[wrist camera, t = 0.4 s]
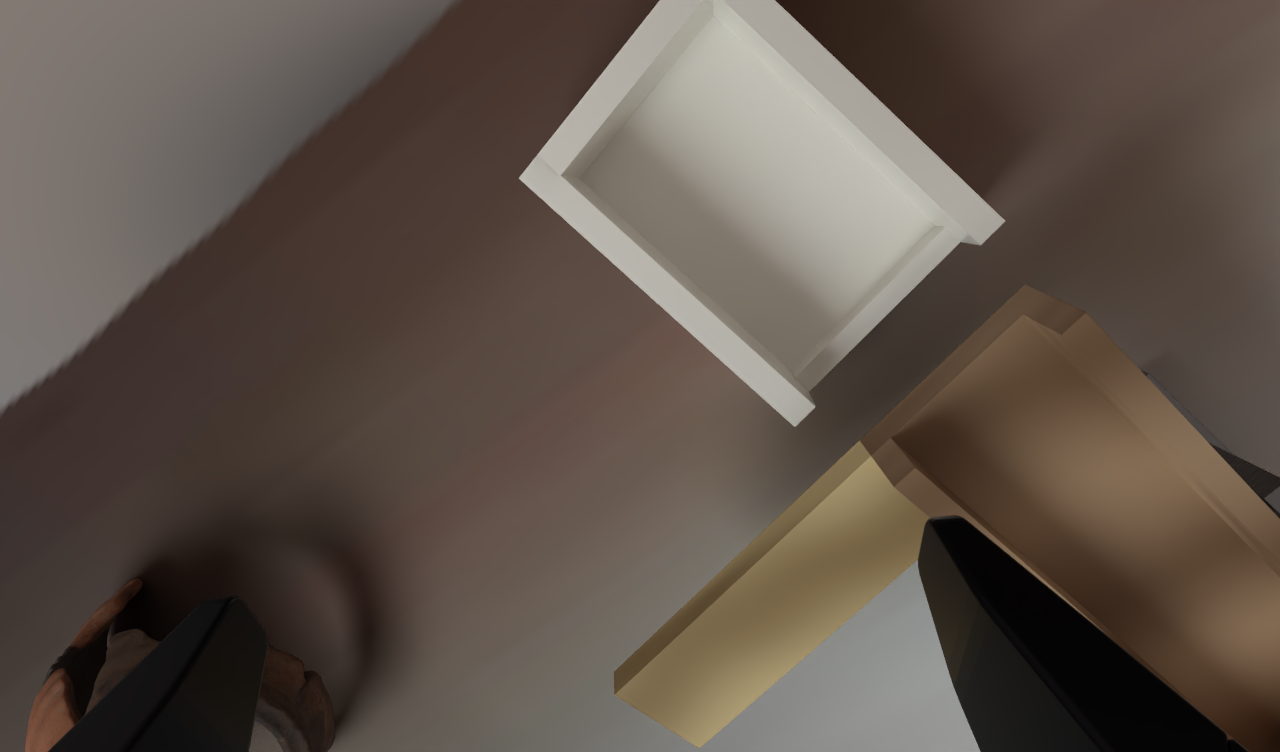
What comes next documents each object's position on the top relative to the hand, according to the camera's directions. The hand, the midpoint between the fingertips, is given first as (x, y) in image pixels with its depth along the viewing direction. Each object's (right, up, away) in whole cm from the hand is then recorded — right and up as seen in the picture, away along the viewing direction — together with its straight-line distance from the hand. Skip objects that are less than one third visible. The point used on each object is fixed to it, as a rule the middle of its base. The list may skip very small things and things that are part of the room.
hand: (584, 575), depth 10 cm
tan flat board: (+11, -6, +11) cm, 17 cm away
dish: (+4, +8, +12) cm, 15 cm away
